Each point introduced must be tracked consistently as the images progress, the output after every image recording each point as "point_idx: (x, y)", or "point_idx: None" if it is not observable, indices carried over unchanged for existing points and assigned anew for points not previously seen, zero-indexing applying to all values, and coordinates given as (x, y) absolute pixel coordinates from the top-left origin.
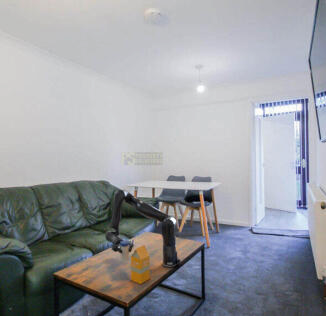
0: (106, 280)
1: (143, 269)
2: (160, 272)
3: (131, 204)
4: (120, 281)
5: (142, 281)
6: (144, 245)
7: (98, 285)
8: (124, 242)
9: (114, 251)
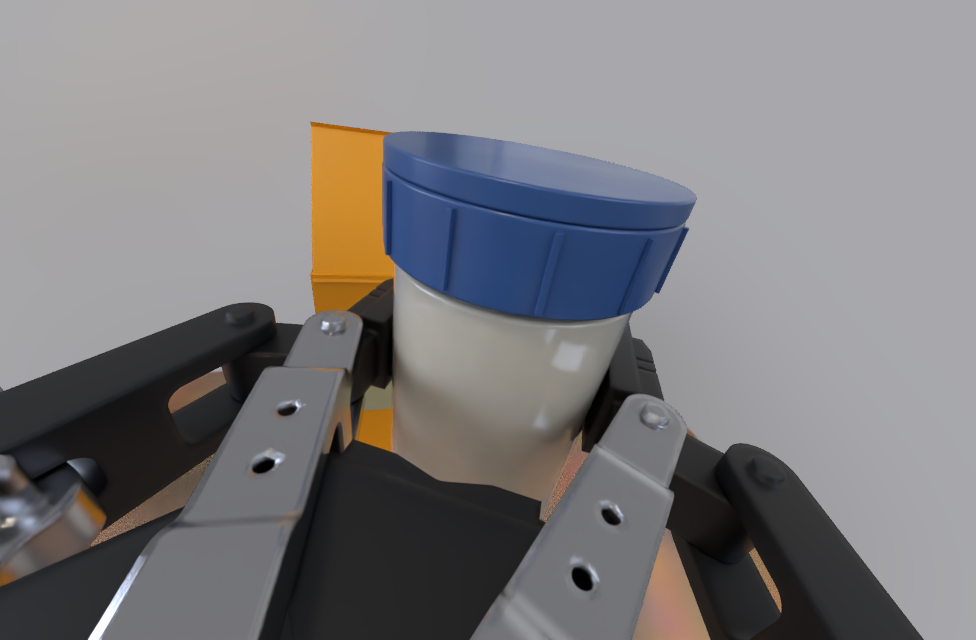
0: (691, 631)
1: None
2: (184, 401)
3: None
4: (556, 505)
5: None
6: (312, 126)
7: (774, 583)
8: (558, 159)
9: (747, 583)
